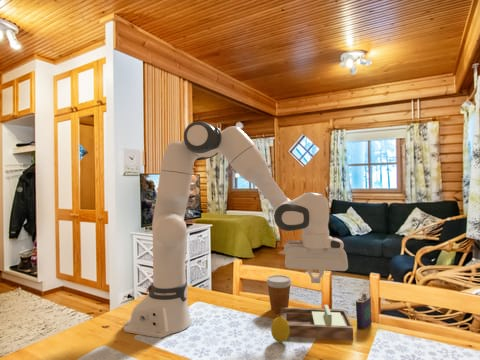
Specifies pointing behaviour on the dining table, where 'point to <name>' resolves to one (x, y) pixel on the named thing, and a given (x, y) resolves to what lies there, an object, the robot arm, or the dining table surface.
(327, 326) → the wooden tray
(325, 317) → the cover
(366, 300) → the flask
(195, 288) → the dining table surface
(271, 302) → the disposable coffee cup
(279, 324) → the lemon
